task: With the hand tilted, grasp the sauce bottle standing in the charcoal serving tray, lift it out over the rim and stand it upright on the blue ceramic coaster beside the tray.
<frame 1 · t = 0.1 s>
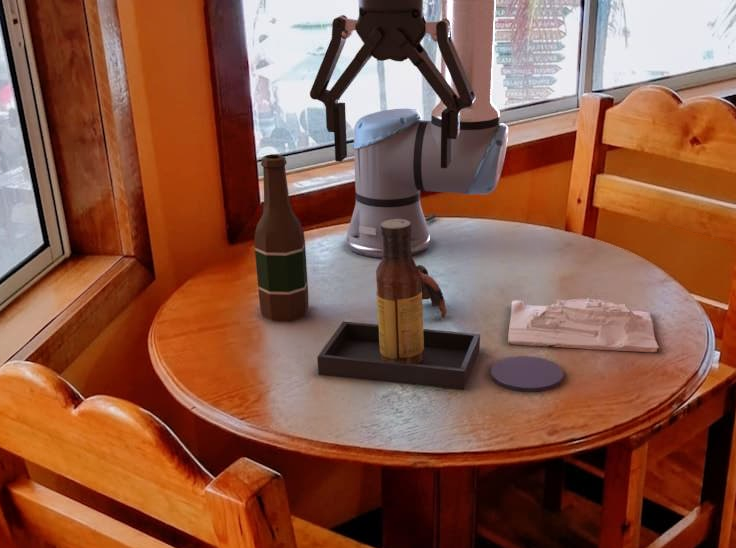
hand: (393, 162, 123), 28 cm above the table, tool pointing down, fingers open, 13 cm apart
terrain model: (580, 330, 149), on the table
brown broken pot: (415, 313, 155), on the table
tray: (400, 362, 139), on the table
beer bottle: (285, 314, 154), on the table
sauce bottle: (400, 362, 139), resting on tray
coaster: (526, 375, 136), on the table
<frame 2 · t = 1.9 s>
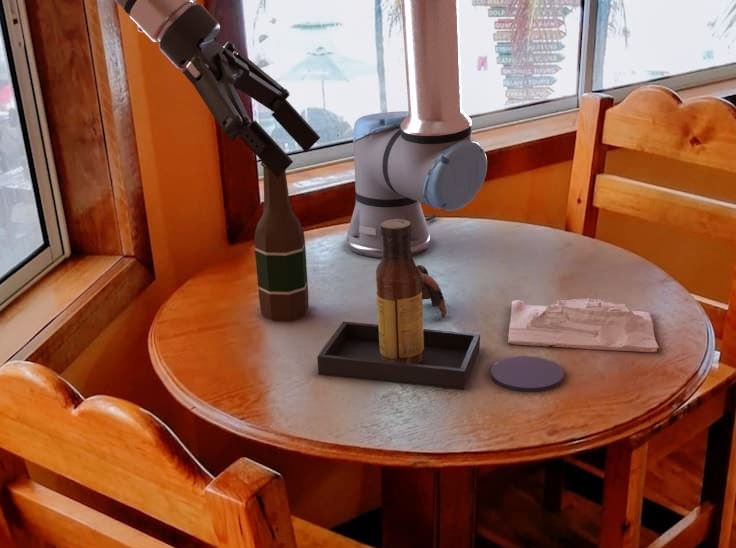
hand: (300, 157, 127), 28 cm above the table, tool tilted 45°, fingers open, 13 cm apart
nothing on the table moved.
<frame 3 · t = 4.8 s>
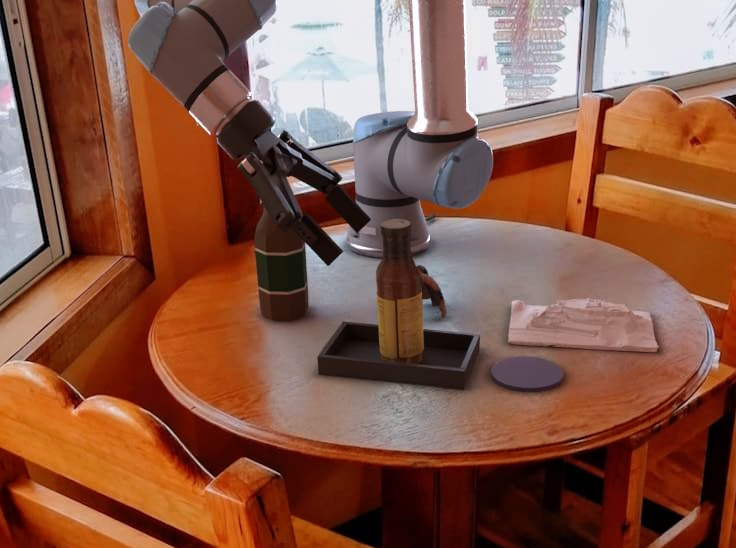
hand: (350, 242, 131), 17 cm above the table, tool tilted 45°, fingers open, 13 cm apart
nothing on the table moved.
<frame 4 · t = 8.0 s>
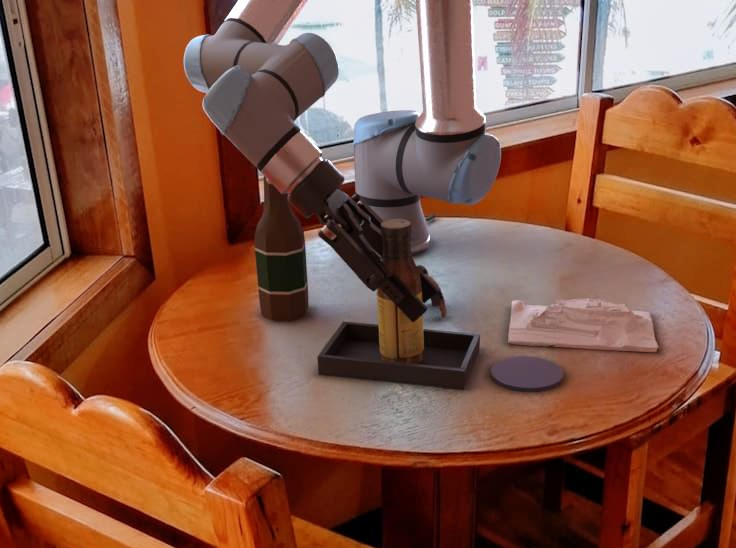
hand: (425, 305, 134), 9 cm above the table, tool tilted 45°, fingers closed on sauce bottle, 6 cm apart
sauce bottle: (400, 362, 139), resting on tray, touching gripper
everything else where it was.
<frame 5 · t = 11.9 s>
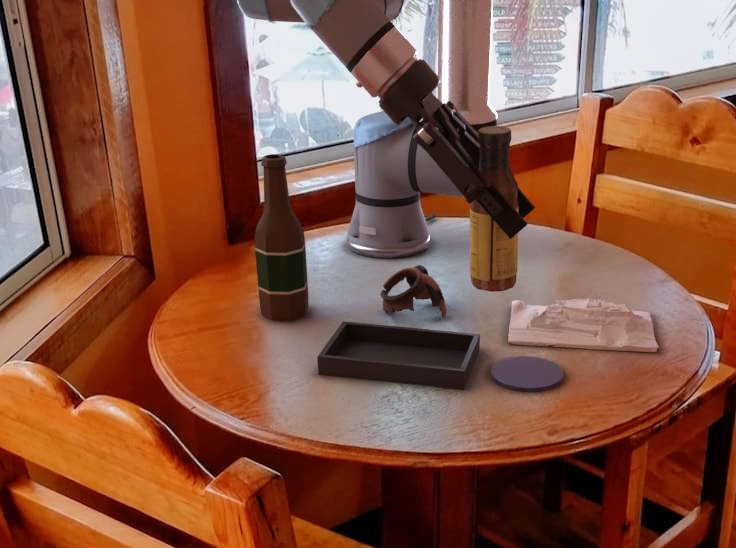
hand: (522, 222, 124), 21 cm above the table, tool tilted 45°, fingers closed on sauce bottle, 6 cm apart
sauce bottle: (491, 286, 130), point 13 cm above the table, touching gripper
everything else where it was.
when the fingers open (9 cm above the table, at t = 16.2 s): sauce bottle stays where it is, resting on coaster.
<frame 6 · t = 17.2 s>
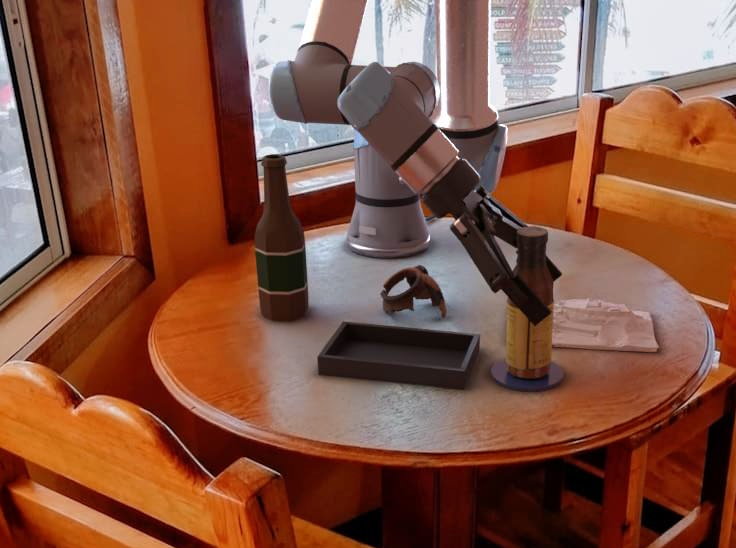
hand: (549, 299, 129), 11 cm above the table, tool tilted 45°, fingers open, 13 cm apart
sauce bottle: (526, 372, 136), resting on coaster
everything else where it was.
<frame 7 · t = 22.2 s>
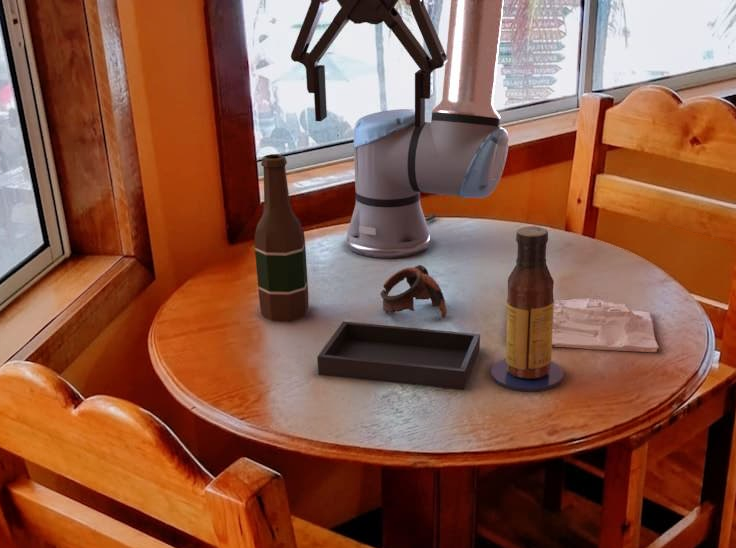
hand: (370, 122, 130), 31 cm above the table, tool pointing down, fingers open, 13 cm apart
nothing on the table moved.
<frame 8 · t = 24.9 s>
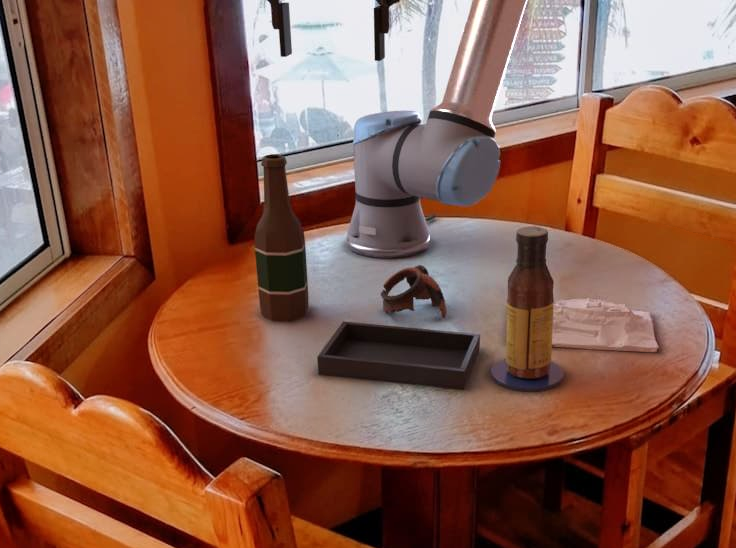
hand: (332, 57, 137), 37 cm above the table, tool pointing down, fingers open, 13 cm apart
nothing on the table moved.
at the end: sauce bottle inside the target area on the coaster (0.1 cm from its centre), point 0.4 cm above the coaster's base; sauce bottle tilted 0°; sauce bottle touching coaster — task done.
